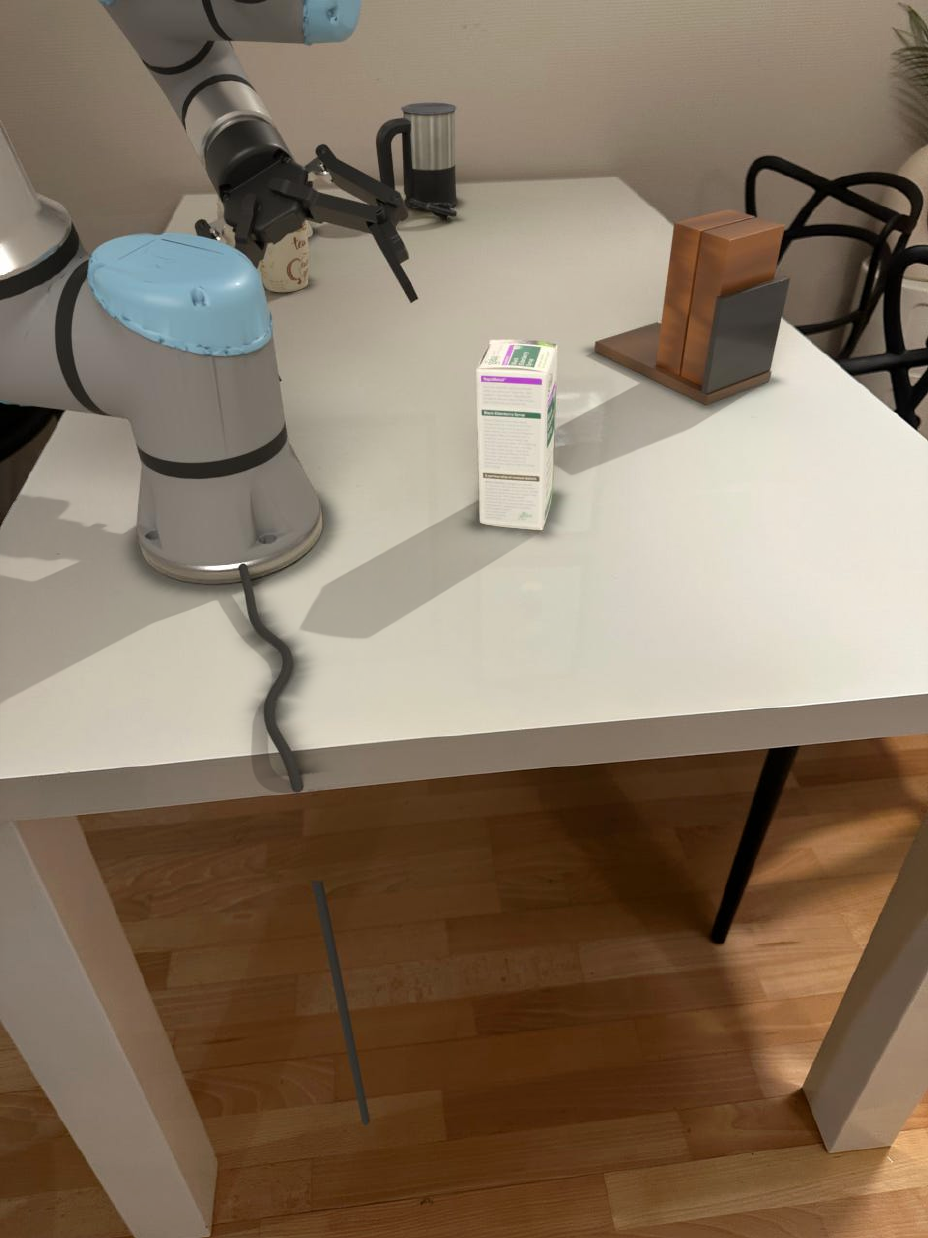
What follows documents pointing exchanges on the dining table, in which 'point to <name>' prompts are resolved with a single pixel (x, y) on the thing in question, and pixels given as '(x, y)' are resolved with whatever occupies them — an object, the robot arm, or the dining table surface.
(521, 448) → the syrup box
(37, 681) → the dining table surface
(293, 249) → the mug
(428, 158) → the milk frother
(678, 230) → the wooden bookend
